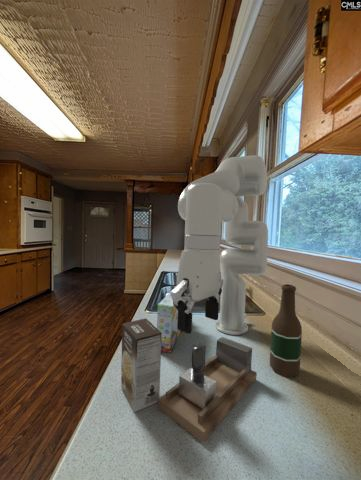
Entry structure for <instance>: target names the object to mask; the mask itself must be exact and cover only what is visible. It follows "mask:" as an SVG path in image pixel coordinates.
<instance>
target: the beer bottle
mask: <svg viewBox="0 0 361 480" xmlns="http://www.w3.org/2000/svg"><path fill="white" fill-rule="evenodd" d="M280 289H281V290H282V292H281V298H280V305H279V311H278V313H277V314H276V315H275V317H274V318H273V320H272V323H271V331H270V345H269V346H270V348H269V349H270V350H269V351H270V352H269V366H270V368H271V369H272V370H273V372H274V373H275V374H277V375H280V376H283V377H284V378H296V376H297V375H298V373H299V372H300V368H301V355H302V354H301V353H302V339H303V337H302V336H303V331H302V330H303V329H302V328H303V327H302V324H301V321H300V320H299V318H298V317H297V314H296V291H297V288H296V286H295V285H293V284H289V283H288V284H283V285H282V286H281V288H280Z"/></svg>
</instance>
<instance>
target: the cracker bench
mask: <svg viewBox="0 0 361 480" xmlns="http://www.w3.org/2000/svg"><path fill="white" fill-rule="evenodd" d="M252 356H253V347H251V346H248V345H245V344H243V343H240V342H238V341H234V340H232V339H230V338H227V337H224V336H221V337H220V338H218V339H217V340H216V352H215V355H214V356H212V357H211V358H210V359H209V360H207V361H205V376H207V377H209V378H211V379H213V380H214V381H216V397H215V398H214V399H213V400H212V401H211V402H210V403H209V404H208V405H207V406H206V407H205V408H204V409H202V408H201V407H199V406H198V405H196V404H195V403H193V402H191V401H190V400H188V399H187V398H185V397H184V396H182V395H181V394H179V382H178V383H177V384H175V385H174V386H173V387H171V388H169V389H168V390H167V391H165V393H164V394H162V395H160V396H159V399H158V402H157V409H158V410H159V411H161V412H162V413H163V414H165V416H168V417H169V418H170V419H171V420H172V421H174V422H175V423H176V424H177V425H179V426H180V427H182V428H183V429H184V430H186V431H187V432H188V433H189V434H191V435H192V436H194V437H195V438H196V439H197V440H199V441H200V442H202V443H205V442H206V440H207V439H208V438H209V437H210V436H211V435H212V433H213V432H214V431H215V429H217V427H218V426H219V425H220V424H221V423H222V421H223V420H224V419H225V418H226V417H227V416H228V414H229V413H230V412H231V411H232V409H234V407H235V406H236V405H237V403H238V402H239V401H240V400H241V399H242V398H243V396H244V395H245V394H246V393H247V391H249V389H250V388H251V387H252V386H253V384H254V383H255V382H256V381H257V371H254V370H252V360H253V359H252V358H253V357H252Z"/></svg>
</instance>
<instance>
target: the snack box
mask: <svg viewBox="0 0 361 480" xmlns="http://www.w3.org/2000/svg"><path fill="white" fill-rule="evenodd" d="M156 314H157V315H156V328H157V329H158V330H159V331H160V332H161V333H162V336H161V353H162V352H163V353H170V354H171V352H172V350H173V348H174V347H175V344H176V342H177V340H178V338H179V335H180V334H181V332H182V331H180V330H178V328H177V325H178V311H177V310H176V307H175V306H174V305H173V300H172V297H171V292H170V293H169V294H168V295H167V296H166V297H163V299H161V301H160V302H159V303H158V304H157V313H156Z"/></svg>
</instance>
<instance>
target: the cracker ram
mask: <svg viewBox="0 0 361 480" xmlns="http://www.w3.org/2000/svg"><path fill="white" fill-rule="evenodd" d="M206 353H207V351H206V346H205V345H204V344H201V343H194V344H192V346H191V353H190V354H191V359H190V367H189V368H188V369H187V370H185V371H184V372H183V373H182V374H180V375H179V379H178V381H179V382H178V383H179V394H181V395H182V396H184V397H185V398H187V399H188V400H190V401H191V402H193V403H195V404H196V405H198V406H199V407H201V408H202V409H204V408H205V407H206V406H207V405H208V404H209V403H210V402H211V401H212V400H213V399H214V398H215V397H216V381H214V380H213V379H211V378H209V377H207V376H205V363H206Z"/></svg>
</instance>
